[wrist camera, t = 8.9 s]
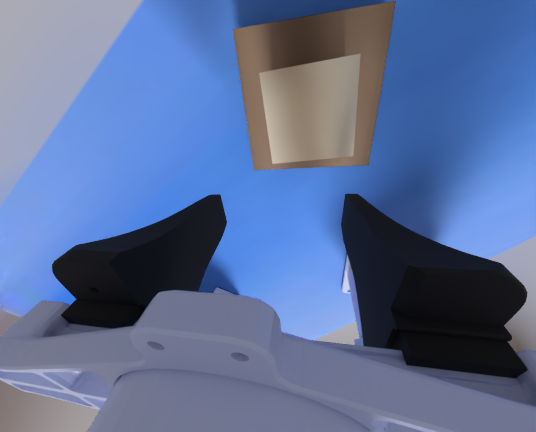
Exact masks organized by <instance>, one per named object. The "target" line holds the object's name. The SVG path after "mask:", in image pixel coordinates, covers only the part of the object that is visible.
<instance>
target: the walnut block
mask: <svg viewBox="0 0 536 432" xmlns="http://www.w3.org/2000/svg"><path fill="white" fill-rule="evenodd" d="M395 3H396V1H392V2H386V3H380V4H375V5H369V6H363V7H357V8H351V9H346V10H340V11H334V12H328V13H323V14H317V15H311V16H305V17H300V18H294V19H288V20H282V21H277V22H271V23H265V24H259V25H253V26H248V27H242V28H236V29H233V32H234V39H235V45H236V52H237V59H238V66H239V72H240V79H241V86H242V92H243V99H244V106H245V112H246V119H247V126H248V132H249V139H250V146H251V153H252V159H253V166H254V170H267V169H290V168H312V167H334V166H357V165H369V159H370V153H371V147H372V141H373V135H374V129H375V123H376V117H377V111H378V105H379V99H380V93H381V87H382V81H383V75H384V69H385V63H386V57H387V51H388V45H389V39H390V33H391V27H392V21H393V15H394V9H395ZM355 54H361V55H360V69H359V83H358V97H357V111H356V125H355V139H354V153H353V156H350V157H340V158H330V159H319V160H309V161H298V162H288V163H278V164H272V157H271V150H270V144H269V137H268V130H267V123H266V117H265V110H264V103H263V96H262V89H261V83H260V76H259V73H261V72H267V71H272V70H277V69H282V68H288V67H293V66H298V65H303V64H308V63H314V62H319V61H324V60H329V59H334V58H340V57H345V56H350V55H355Z"/></svg>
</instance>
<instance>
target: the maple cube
mask: <svg viewBox="0 0 536 432" xmlns="http://www.w3.org/2000/svg"><path fill="white" fill-rule="evenodd" d="M360 55H361V54H355V55H350V56H345V57H340V58H334V59H329V60H324V61H319V62H314V63H308V64H303V65H298V66H293V67H288V68H282V69H277V70H272V71H267V72H261V73H259V76H260V83H261V89H262V96H263V103H264V110H265V117H266V123H267V130H268V137H269V144H270V150H271V157H272V164H278V163H288V162H298V161H309V160H319V159H330V158H340V157H350V156H353V153H354V139H355V125H356V111H357V97H358V83H359V69H360Z"/></svg>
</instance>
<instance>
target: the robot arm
mask: <svg viewBox="0 0 536 432" xmlns="http://www.w3.org/2000/svg"><path fill="white" fill-rule="evenodd" d="M226 224H227V221H226V216H225V212H224V208H223V204H222V200H221V196H220V195H209V196H207V197H205V198H203V199H201V200H199V201H197V202H196V203H194V204H192V205H190V206H188V207H187V208H185V209H183V210H181V211H179V212H177V213H176V214H174V215H172V216H170V217H168V218H166V219H164V220H161V221H159V222H157V223H154V224H152V225H149V226H147V227H144V228H141V229H138V230H135V231H132V232H129V233H126V234H122V235H119V236H115V237H111V238H108V239H103V240H99V241H94V242H89V243H85V244H79V245H76V246H74V247H73V248H71V249H70V250H69V251H67V252H66V253H65V254H63V255H62V256H61V257H59V258H58V259H57V260H55V261H54V263H53V264H52V270H53V273H54V275H55V277H56V278H57V279H58V281H59V282H60V283H61V284H62V285H63V286H64V287H65V288H66V289H67V290H68V291H69V292H70V293H71V294H72V295H73V296H74V297H75V298H76V300H75V301H74V302H73V303H72V304H71V305H69V304H67V303H64V302H56V301H47V300H44V301H41V302H39V303H38V304H37V305H36V306H35V307H34V308H33V309H31V310H30V311H29V312H28V313H27V314H26V315H24V316H23V317H22V318H21V319H20V320H19V321H17V323H15V324H14V325H13V326H12V327H11V328H10V329H8V330H7V331H6V332H5V333H4V334H2V335H1V336H0V380H2V381H4V382H6V383H8V384H9V385H12V386H14V387H16V388H18V389H20V390H22V391H25V392H30V393H34V394H39V395H44V396H48V397H52V398H56V399H60V400H64V401H68V402H71V403H75V404H79V405H83V406H86V407H90V408H93V409H97V410H100V411H99V412H98V414H97V416H96V417H95V419H94V421H93V422H92V424H91V426H90V427H89V429H88V430H87V432H536V351H533V350H528V351H527V350H525V351H520V352H517V353H515V351H514V350H513V348H512V347H511V346H510V344H509V343H508V342H507V341H510V340H511V339H512V336H511V334H510V333H509V332H508V331H507V329H506V328H505V327H504V325H505V324H506V323H507V322H508V321H509V320H510V319H511V318H512V317H513V316H514V315H515V314H516V313H517V312H518V311H519V310H520V309H521V307H522V306H523V305H524V303H525V302H526V298H527V291H526V289H525V287H524V285H523V284H522V283H521V282H520V281H519V280H518V279H517V278H516V277H515V276H514V275H512V273H510V272H509V270H508V269H507V268H505V266H503V265H502V264H501V263H498V262H495V261H491V260H488V259H485V258H481V257H478V256H475V255H471V254H468V253H465V252H462V251H459V250H456V249H453V248H451V247H448V246H445V245H442V244H440V243H437V242H435V241H433V240H430V239H428V238H426V237H424V236H421V235H419V234H417V233H415V232H413V231H411V230H409V229H407V228H406V227H404V226H402V225H400V224H398V223H397V222H395V221H393V220H392V219H390V218H389V217H387V216H386V215H384V214H383V213H382V212H380V211H379V210H377V209H376V208H375V207H373V206H372V205H371V204H370V203H368V202H367V201H366V200H365V199H363V198H362V197H361V196H359V195H358V194H345V201H344V208H343V215H342V223H341V226H342V234H343V240H344V244H345V248H346V251H347V257H346V264H345V270H344V277H343V283H342V292H344V293H351V297H352V302H353V307H354V312H355V317H356V322H357V327H358V332H359V337H360V338H359V339H356V340H354V342H355V345H348V344H339V343H331V342H321V341H313V340H308V339H304V338H301V337H298V336H294V335H291V334H287V333H284V332H282V331H281V325H280V319H279V317H278V315H277V313H276V312H275V310H274V309H273V308H272V307H271V306H269V305H268V304H266V303H265V302H263V301H262V300H260V299H256V298H252V297H248V296H243V295H231V294H219V293H206V292H198V290H199V287H200V284H201V281H202V279H203V276H204V273H205V270H206V268H207V266H208V264H209V262H210V260H211V258H212V256H213V254H214V252H215V250H216V248H217V246H218V244H219V242H220V240H221V238H222V236H223V233H224V230H225V227H226Z"/></svg>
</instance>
